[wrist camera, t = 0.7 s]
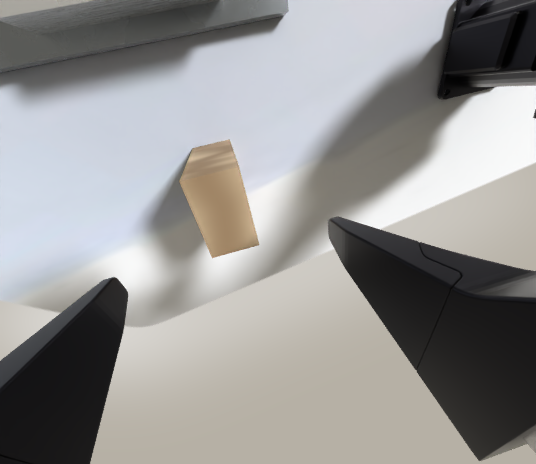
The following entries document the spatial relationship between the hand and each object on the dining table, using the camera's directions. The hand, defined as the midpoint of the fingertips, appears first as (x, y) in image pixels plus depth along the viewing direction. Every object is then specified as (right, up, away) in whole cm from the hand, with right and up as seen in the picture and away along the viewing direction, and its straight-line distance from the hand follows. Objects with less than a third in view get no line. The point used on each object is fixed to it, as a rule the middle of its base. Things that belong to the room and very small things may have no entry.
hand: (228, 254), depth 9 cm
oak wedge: (-2, +6, +10) cm, 12 cm away
